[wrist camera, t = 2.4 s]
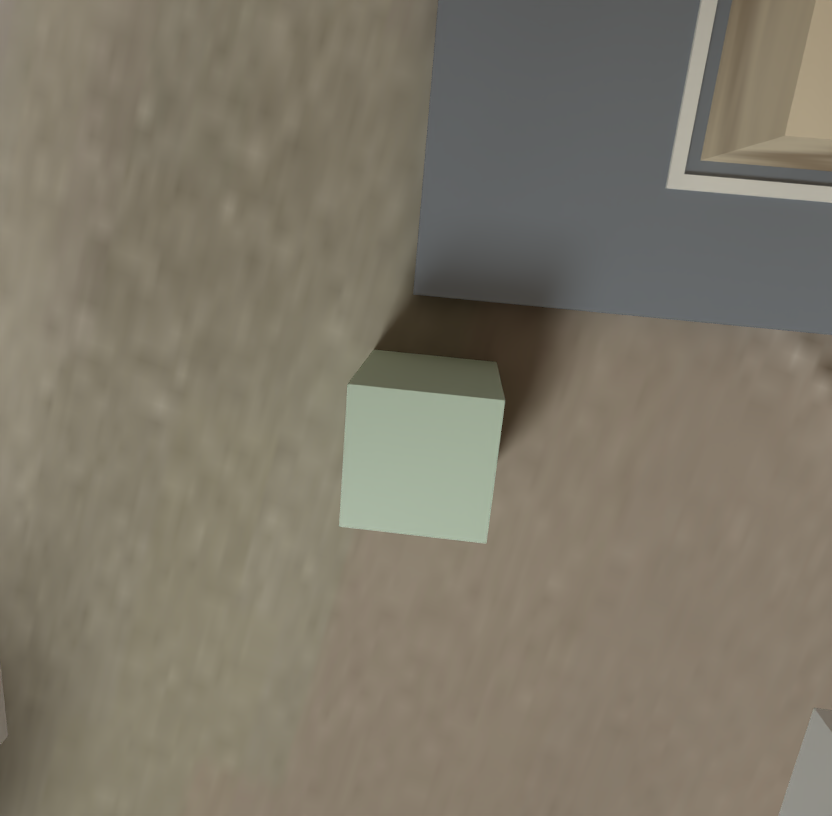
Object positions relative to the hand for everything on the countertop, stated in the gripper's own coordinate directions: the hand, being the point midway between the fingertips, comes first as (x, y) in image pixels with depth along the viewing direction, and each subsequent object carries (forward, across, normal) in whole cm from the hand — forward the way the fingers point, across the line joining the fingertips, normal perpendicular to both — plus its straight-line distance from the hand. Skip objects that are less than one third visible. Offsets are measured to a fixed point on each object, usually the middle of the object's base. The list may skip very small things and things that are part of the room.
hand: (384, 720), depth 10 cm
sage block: (+17, 0, 0) cm, 17 cm away
